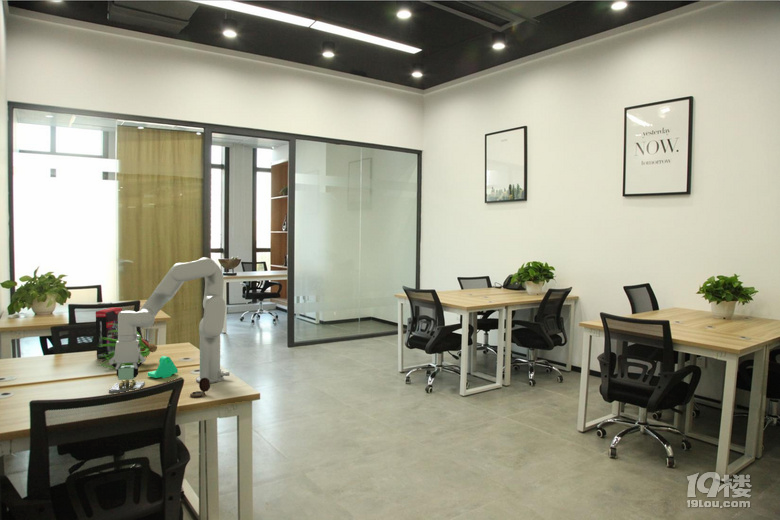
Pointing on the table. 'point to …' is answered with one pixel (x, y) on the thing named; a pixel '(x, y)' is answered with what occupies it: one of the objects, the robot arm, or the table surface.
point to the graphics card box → (106, 330)
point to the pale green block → (126, 372)
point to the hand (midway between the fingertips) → (127, 376)
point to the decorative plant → (144, 349)
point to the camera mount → (164, 368)
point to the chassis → (126, 386)
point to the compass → (201, 388)
